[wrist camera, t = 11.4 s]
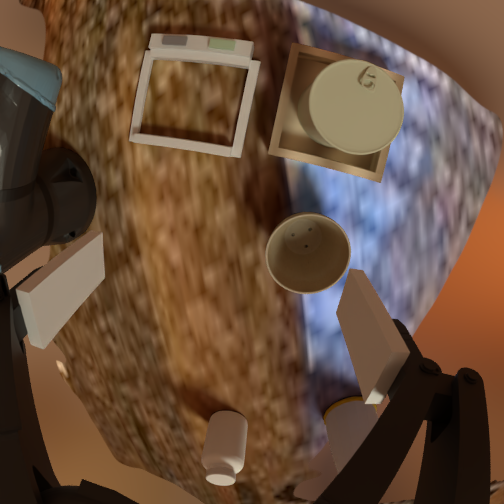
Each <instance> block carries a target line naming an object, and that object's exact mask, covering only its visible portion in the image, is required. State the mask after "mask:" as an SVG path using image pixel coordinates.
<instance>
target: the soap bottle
mask: <svg viewBox="0 0 504 504" xmlns="http://www.w3.org/2000/svg"><path fill="white" fill-rule="evenodd" d="M376 412H377V406H376V404H364V400H363V397H350V398H346V399H342V400H340V401H338V402H336V403H334V404H333V405H331V406H330V407H329V408H328V409H327V410H326V412H325V415H324V417H323V419H324V424H325V425H326V428H327V434H328V439H329V444H330V448H331V452H332V455H333V459H334V463H335V466H336V469H337V472H338V474H339V473H340V471H341V470H342V469H343V468H344V466H345V465H346V464H347V462H348V461H349V460H350V459H351V457H352V456H353V455H354V453H355V452H356V451H357V449H358V448H359V447H360V445H361V444H362V442H363V441H364V440H365V438H366V437H367V435H368V434H369V433H370V431H371V430H372V428H373V427H374V425H375V424H376V422H377V421H378V416H377V413H376Z"/></svg>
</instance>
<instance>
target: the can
mask: <svg viewBox="0 0 504 504" xmlns="http://www.w3.org/2000/svg"><path fill="white" fill-rule="evenodd" d="M403 117H404V106H403V100H402V97H401V94H400V91H399V89H398V87H397V85H396V84H395V82H394V81H393V80H392V78H391V77H390V76H389V75H388V74H387V73H386V72H385V71H384V70H382V69H381V68H379V67H378V66H376V65H374V64H372V63H370V62H367V61H364V60H359V59H344V60H339V61H336V62H334V63H331V64H329V65H328V66H326V67H325V68H324V69H322V70H321V71H320V72H319V74H318V75H317V76H316V77H315V79H314V81H313V82H312V83H311V84H310V85H309V86H307V87H306V89H305V90H304V91H303V93H302V94H301V96H300V99H299V102H298V118H299V122H300V124H301V126H302V128H303V130H304V131H305V133H306V134H307V135H308V136H309V137H310V138H311V139H312V140H313V141H315V142H316V143H318V144H320V145H322V146H325V147H329V148H337V149H339V150H341V151H343V152H346V153H350V154H356V155H366V154H371V153H375V152H378V151H380V150H382V149H384V148H385V147H386V146H388V145H389V144H390V143H391V142H392V141H393V140H394V139H395V138H396V136H397V135H398V133H399V131H400V128H401V126H402V122H403Z"/></svg>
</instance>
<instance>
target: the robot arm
mask: <svg viewBox="0 0 504 504" xmlns="http://www.w3.org/2000/svg"><path fill="white" fill-rule="evenodd" d="M61 83H62V73H61V71H60V69H59V68H58V67H57V66H56V65H54V64H51V63H49V62H46V61H44V60H41V59H38V58H35V57H33V56H30V55H27V54H24V53H21V52H17V51H14V50H11V49H7V48H4V47H0V504H139V503H137V502H135V501H133V500H131V499H129V498H127V497H126V496H124V495H122V494H120V493H118V492H117V491H115V490H112V489H109V488H106V487H102V486H100V485H97V484H94V483H92V482H89V481H86V480H84V479H82V481H81V484H80V486H61V485H60V484H59V482H58V480H57V478H56V476H55V475H54V472H53V469H52V466H51V463H50V460H49V457H48V454H47V450H46V447H45V444H44V441H43V437H42V433H41V429H40V425H39V421H38V417H37V413H36V408H35V404H34V399H33V394H32V389H31V383H30V377H29V371H28V364H27V358H26V349H25V344H24V341H23V338H24V337H25V336H26V335H27V334H28V337H29V340H30V343H31V345H34V346H36V347H39V348H41V349H45V348H46V346H47V345H48V344H49V343H50V341H51V340H52V339H53V338H54V336H55V335H56V334H57V333H58V331H59V330H60V329H61V328H62V327H63V325H64V324H65V323H66V322H67V321H68V319H69V318H70V317H71V316H72V315H73V313H74V312H75V311H76V310H77V309H78V308H79V306H80V305H81V304H82V303H83V302H84V301H85V300H86V298H87V297H88V296H89V295H90V294H91V293H92V292H93V290H94V289H95V288H96V287H97V286H98V285H99V284H100V283H101V282H102V280H103V279H104V278H105V271H104V256H103V234H102V232H97V231H89V232H88V233H87V234H85V235H84V236H82V237H81V238H80V239H78V240H77V241H76V242H74V243H73V244H72V245H70V246H69V247H68V248H66V249H65V250H64V251H62V252H61V253H60V254H58V255H57V256H56V257H54V258H53V259H52V260H51V261H49V262H48V263H47V264H46V265H44V266H42V267H39V268H37V269H35V270H33V271H32V272H31V273H30V274H28V276H26V277H25V278H23V280H21V281H20V282H19V283H17V284H16V285H15V286H14V287H13V288H11V289H10V290H9V287H8V283H7V279H6V275H4V273H5V272H6V271H8V270H9V269H10V268H12V267H13V266H14V265H16V264H17V263H19V262H20V261H21V260H23V259H24V258H26V257H27V256H28V255H30V254H31V253H33V252H34V251H36V250H37V249H39V248H40V247H42V246H47V245H57V244H65V243H68V242H70V241H72V240H74V239H75V238H77V237H79V236H80V235H81V234H83V233H84V232H85V231H86V230H87V228H88V227H89V225H90V224H91V222H92V219H93V217H94V213H95V209H96V189H95V184H94V180H93V177H92V174H91V172H90V170H89V168H88V166H87V165H86V163H85V162H84V161H83V160H82V159H81V157H79V156H78V155H77V154H76V153H74V152H73V151H71V150H69V149H65V148H52V149H47V150H43V146H44V142H45V139H46V135H47V132H48V128H49V125H50V121H51V118H52V115H53V112H54V111H55V110H56V106H55V104H56V100H57V96H58V93H59V90H60V87H61ZM42 150H43V151H42ZM336 314H337V317H338V320H339V323H340V326H341V329H342V332H343V335H344V338H345V342H346V345H347V348H348V351H349V354H350V357H351V360H352V364H353V367H354V370H355V373H356V377H357V380H358V383H359V387H360V390H361V393H362V397H363V400H364V404H381V403H382V401H383V400H384V398H385V397H386V395H387V393H388V396H389V399H390V402H389V404H388V405H387V407H386V408H385V410H384V412H383V413H382V415H381V416H380V418H379V419H378V421H377V422H376V424H375V425H374V427H373V428H372V430H371V431H370V433H369V434H368V435H367V437H366V438H365V440H364V441H363V442H362V444H361V445H360V447H359V448H358V449H357V451H356V452H355V453H354V455H353V456H352V457H351V459H350V460H349V461H348V462H347V464H346V465H345V466H344V468H343V469H342V470H341V471H340V473H339V474H338V475H337V476H336V477H335V479H334V480H333V481H332V482H331V484H330V485H329V486H328V487H327V488H326V489H325V490H324V492H323V493H322V494H321V495H320V496H319V497H318V499H317V500H316V501H315V502H314V503H313V504H378V503H379V501H380V500H381V498H382V497H383V495H384V493H385V492H386V490H387V489H388V487H389V485H390V484H391V482H392V480H393V478H394V477H395V475H396V473H397V472H398V470H399V468H400V466H401V464H402V462H403V461H404V459H405V457H406V455H407V453H408V451H409V449H410V447H411V445H412V443H413V441H414V439H415V437H416V435H417V433H418V431H419V429H420V427H421V425H422V422H423V420H427V430H426V438H425V445H424V453H423V459H422V465H421V470H420V476H419V481H418V486H417V491H416V495H415V500H414V504H489V503H490V440H489V425H488V414H487V405H486V398H485V390H484V383H483V380H482V377H481V376H480V375H479V373H478V372H476V371H475V370H472V369H470V368H461V369H460V370H459V371H458V372H457V374H456V375H455V376H452V375H448V374H443V373H442V371H441V368H440V367H439V365H438V364H437V363H436V362H434V361H432V360H431V359H428V358H423V356H422V354H421V352H420V351H419V349H418V347H417V345H416V344H415V342H414V341H413V338H412V337H411V335H409V332H408V330H407V328H406V326H405V325H404V324H402V323H401V322H400V321H399V320H398V319H391V317H390V315H389V313H388V312H387V310H386V308H385V306H384V305H383V303H382V301H381V300H380V298H379V296H378V294H377V293H376V291H375V289H374V288H373V286H372V284H371V283H370V281H369V279H368V278H367V276H366V274H365V273H364V271H363V270H357V269H349V273H348V276H347V279H346V283H345V286H344V289H343V293H342V296H341V299H340V302H339V305H338V308H337V311H336Z"/></svg>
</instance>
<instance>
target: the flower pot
mask: <svg viewBox="0 0 504 504" xmlns="http://www.w3.org/2000/svg"><path fill="white" fill-rule="evenodd" d="M309 228H310V230H309ZM292 235H294V236H292ZM306 245H308V247H307V246H306ZM350 257H351V247H350V242H349V239H348V237H347V235H346V233H345V231H344V230H343V229H342V228H341V226H340V225H338V224H337V223H336V222H335V221H334V220H332V219H330V218H329V217H327V216H324V215H322V214H319V213H314V212H301V213H296V214H293V215H291V216H289V217H287V218H286V219H284V220H283V221H282V222H281V223H280V224H279V225H278V226H277V227H276V228H275V229H274V231H273V232H272V234H271V236H270V238H269V240H268V243H267V246H266V252H265V259H266V265H267V268H268V271H269V273H270V275H271V276H272V278H273V279H274V280H275V281H276V282H277V283H278V284H279V285H280V286H282V287H283V288H285V289H287V290H289V291H292V292H295V293H300V294H313V293H318V292H321V291H324V290H326V289H328V288H330V287H331V286H333V285H334V284H335V283H337V282H338V281H339V280H340V279H341V278H342V276H343V275H344V273H345V272H346V270H347V268H348V265H349V262H350Z"/></svg>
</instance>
